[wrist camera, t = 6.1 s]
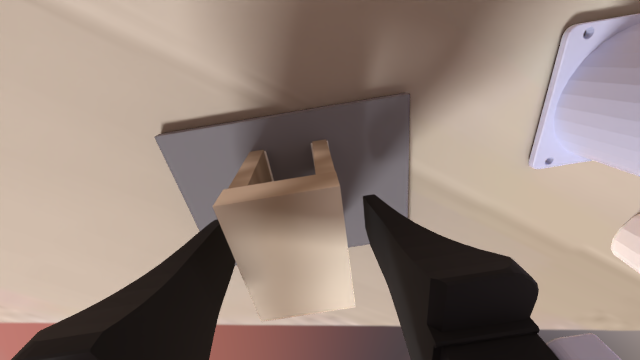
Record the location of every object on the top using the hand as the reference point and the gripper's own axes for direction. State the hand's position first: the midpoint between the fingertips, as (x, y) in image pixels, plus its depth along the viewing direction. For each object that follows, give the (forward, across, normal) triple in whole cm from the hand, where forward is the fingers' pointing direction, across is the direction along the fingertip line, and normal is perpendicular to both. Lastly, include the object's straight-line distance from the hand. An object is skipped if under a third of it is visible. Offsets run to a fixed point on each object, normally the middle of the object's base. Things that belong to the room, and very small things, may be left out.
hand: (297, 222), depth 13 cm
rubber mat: (+3, 0, 0) cm, 3 cm away
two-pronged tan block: (+3, 0, 0) cm, 3 cm away
